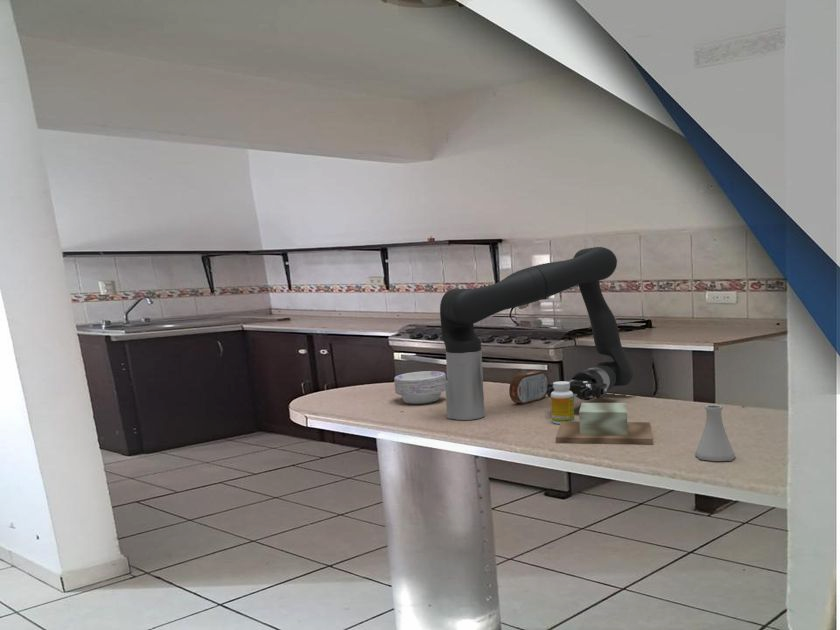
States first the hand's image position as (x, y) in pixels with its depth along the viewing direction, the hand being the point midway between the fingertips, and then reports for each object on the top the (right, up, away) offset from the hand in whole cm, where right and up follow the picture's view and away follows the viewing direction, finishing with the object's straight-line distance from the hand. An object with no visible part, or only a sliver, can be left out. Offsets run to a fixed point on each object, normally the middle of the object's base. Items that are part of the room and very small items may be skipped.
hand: (564, 394), depth 172 cm
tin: (-4, -5, +26) cm, 27 cm away
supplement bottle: (-1, -7, -1) cm, 7 cm away
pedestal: (+6, -7, -15) cm, 18 cm away
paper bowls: (-35, -6, +35) cm, 50 cm away
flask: (+21, -8, -36) cm, 43 cm away
